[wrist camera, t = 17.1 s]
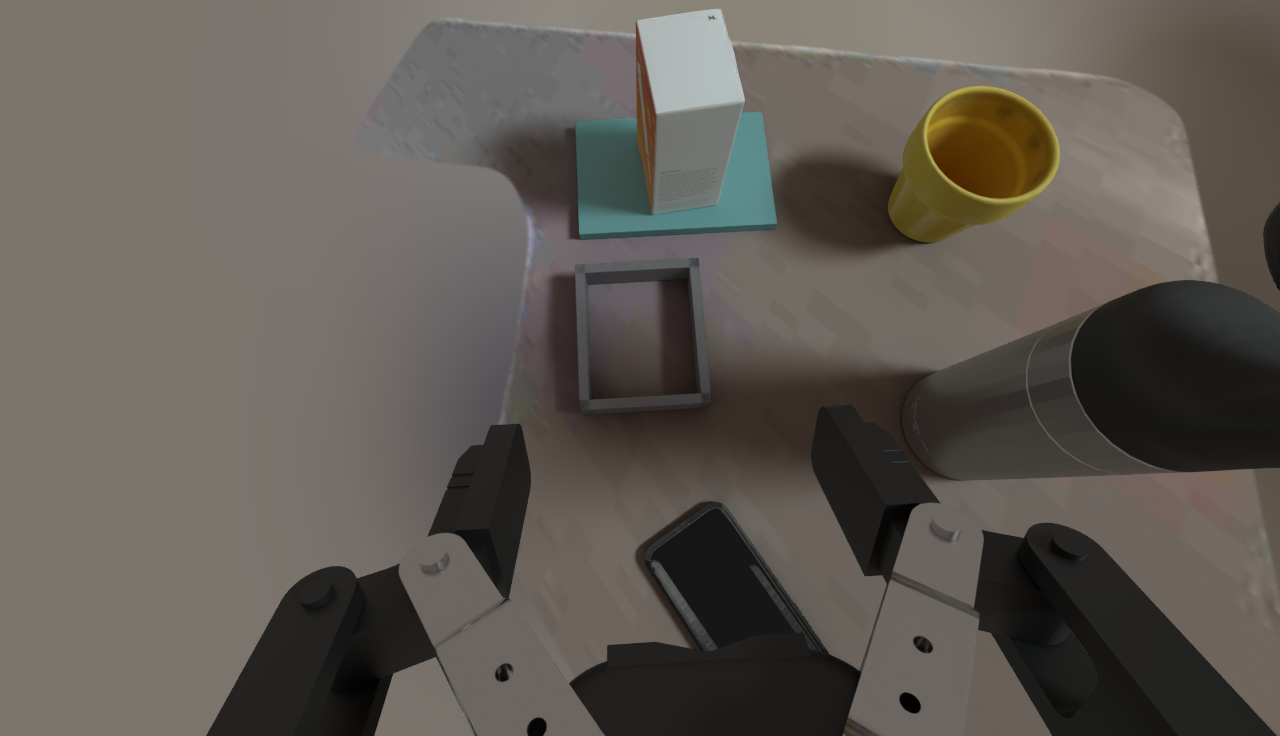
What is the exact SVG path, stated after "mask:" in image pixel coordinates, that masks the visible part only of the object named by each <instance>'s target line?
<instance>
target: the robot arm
mask: <svg viewBox="0 0 1280 736" xmlns="http://www.w3.org/2000/svg"><path fill="white" fill-rule="evenodd" d="M1263 236H1264V249H1265V256H1266V260H1267V264H1268V268H1269V270H1270V273H1271V275H1272V278H1273V280H1274V282H1275V283H1276V285H1277V288H1278V289H1279V290H1280V203H1279V204H1278V205H1277V206H1276V207H1275V208H1274V210H1273V211H1272V212H1271V214H1270V215H1269V217H1268V219H1267V221H1266V224H1265V226H1264V233H1263ZM902 425H903V430H904V434H905V437H906V440H907V442H908V444H909V446H910V448H911V450H912V451H913V452H914V454H915V455H916V456H917V457H918V459H919V460H920V461H921V462H922V463H924V464H925V465H926V466H927V467H928V468H929V469H931V470H933V471H935V472H936V473H938V474H940V475H942V476H945V477H948V478H951V479H956V480H963V481H965V480H994V479H995V480H996V479H1028V478H1054V477H1081V476H1108V475H1132V474H1153V473H1179V472H1203V471H1221V470H1237V469H1259V468H1280V313H1279V312H1277V311H1276V310H1274V309H1273V308H1271V307H1270V306H1269V305H1267V304H1265V303H1263V302H1262V301H1260V300H1258V299H1256V298H1255V297H1253V296H1251V295H1248V294H1246V293H1244V292H1241V291H1239V290H1237V289H1233V288H1230V287H1227V286H1224V285H1221V284H1217V283H1212V282H1205V281H1196V280H1182V281H1172V282H1165V283H1159V284H1155V285H1152V286H1148V287H1145V288H1142V289H1139V290H1137V291H1134V292H1132V293H1129V294H1127V295H1124V296H1122V297H1119V298H1117V299H1115V300H1112V301H1110V302H1108V303H1106V304H1103V305H1101V306H1098V307H1096V308H1093V309H1091V310H1089V311H1086V312H1084V313H1081V314H1079V315H1076V316H1074V317H1071V318H1069V319H1066V320H1064V321H1061V322H1059V323H1057V324H1055V325H1052V326H1050V327H1047V328H1045V329H1042V330H1040V331H1037V332H1035V333H1032V334H1030V335H1027V336H1025V337H1022V338H1020V339H1017V340H1015V341H1012V342H1010V343H1008V344H1005V345H1003V346H1000V347H998V348H995V349H993V350H990V351H988V352H985V353H983V354H980V355H978V356H975V357H973V358H970V359H968V360H965V361H963V362H960V363H957V364H955V365H952V366H950V367H948V368H945V369H943V370H940V371H938V372H935V373H933V374H930V375H929V376H927V377H925V378H923V379H921V380H920V381H919V382H918V383H917V384H915V385H914V386H913V387H912V389H911V390H910V392H909V393H908V395H907V397H906V400H905V402H904V405H903V411H902ZM811 458H812V466H813V470H814V473H815V475H816V477H817V479H818V481H819V483H820V485H821V487H822V490H823V492H824V494H825V496H826V498H827V500H828V502H829V504H830V506H831V508H832V510H833V512H834V514H835V516H836V518H837V520H838V522H839V524H840V526H841V528H842V530H843V533H844V535H845V537H846V539H847V541H848V543H849V545H850V547H851V549H852V551H853V553H854V555H855V557H856V559H857V561H858V563H859V565H860V567H861V569H862V571H863V573H864V576H878V575H883V577H884V579H885V581H886V583H887V586H886V589H885V592H884V595H883V598H882V601H881V605H880V608H879V611H878V614H877V617H876V621H875V624H874V627H873V630H872V633H871V637H870V640H869V643H868V646H867V649H866V652H865V656H864V659H863V662H862V665H861V668H860V671H859V670H857V669H856V668H854V667H853V666H851V665H849V664H848V663H846V662H844V661H842V660H841V659H838V658H836V657H834V656H832V655H829V654H827V653H824V652H821V651H817V650H813V649H809V647H808V644H807V641H806V638H805V635H804V632H799V633H784V634H769V635H755V636H752V637H749V638H747V639H744V640H741V641H738V642H735V643H732V644H729V645H727V646H724V647H721V648H718V649H715V650H712V651H700V650H695V649H690V648H685V647H679V646H674V645H669V644H664V643H659V642H648V643H632V644H617V645H607V661H606V662H603V663H601V664H598V665H596V666H594V667H592V668H590V669H588V670H586V671H585V672H583V673H582V674H580V675H579V676H577V677H576V678H574V679H573V680H572V681H571V682H570V683H568V682H567V680H566V679H565V677H564V676H563V674H562V673H561V671H560V670H559V668H558V667H557V666H556V664H555V662H554V661H553V660H552V658H551V657H550V655H549V654H548V652H547V651H546V649H545V648H544V646H543V645H542V643H541V642H540V641H539V639H538V638H537V636H536V635H535V633H534V632H533V630H532V629H531V627H530V626H529V625H528V623H527V621H526V620H525V619H524V617H523V616H522V614H521V613H520V611H519V610H518V608H517V607H516V606H515V604H514V603H513V602H512V600H510V599H509V593H510V588H511V584H512V579H513V574H514V569H515V564H516V559H517V553H518V548H519V543H520V538H521V533H522V528H523V523H524V518H525V513H526V508H527V503H528V498H529V493H530V486H531V473H530V465H529V460H528V456H527V451H526V446H525V441H524V436H523V431H522V427H521V425H520V424H507V425H492V426H491V427H490V428H489V431H488V434H487V437H486V440H485V443H484V445H475V446H471V447H470V448H469V449H468V450H467V451H466V452H465V453H464V454H463V455H462V456H461V457H460V458H459V459H458V461H457V464H456V466H455V469H454V471H453V474H452V478H451V479H450V482H449V484H448V486H447V488H448V490H446V492H445V494H444V497H443V499H442V502H441V504H440V507H439V509H438V512H437V515H436V517H435V519H434V522H433V525H432V527H431V529H430V532H429V535H428V537H426V538H424V539H422V540H421V541H419V542H417V543H416V544H415V545H414V546H412V547H411V548H410V549H409V550H408V551H407V552H406V554H405V555H404V557H403V558H402V560H401V562H400V564H398V565H396V566H393V567H390V568H388V569H385V570H382V571H379V572H376V573H373V574H370V575H366V576H364V577H360V578H356V576H355V574H354V573H353V572H352V571H351V570H350V569H348V568H345V567H341V566H333V567H327V568H323V569H320V570H317V571H315V572H313V573H311V574H309V575H307V576H306V577H304V578H303V579H301V580H300V581H298V582H297V583H296V584H295V585H294V586H293V587H292V588H291V589H290V590H289V591H288V592H287V593H286V594H285V596H284V597H283V599H282V600H281V602H280V604H279V606H278V608H277V609H276V611H275V613H274V615H273V617H272V619H271V620H270V622H269V624H268V626H267V627H266V629H265V631H264V633H263V635H262V637H261V638H260V640H259V642H258V644H257V645H256V647H255V649H254V651H253V653H252V655H251V656H250V658H249V660H248V662H247V663H246V665H245V667H244V669H243V671H242V672H241V674H240V676H239V678H238V680H237V681H236V683H235V685H234V687H233V689H232V691H231V692H230V694H229V696H228V698H227V699H226V701H225V703H224V705H223V707H222V708H221V710H220V712H219V714H218V716H217V718H216V720H215V721H214V723H213V725H212V727H211V728H210V730H209V732H208V734H207V736H374V735H375V731H376V728H377V725H378V721H379V718H380V715H381V711H382V708H383V705H384V702H385V698H386V695H387V692H388V689H389V685H390V682H391V679H392V676H393V673H395V672H398V671H401V670H403V669H406V668H408V667H411V666H413V665H416V664H418V663H421V662H424V661H426V660H429V659H432V658H434V657H436V659H437V660H438V663H439V665H440V666H441V669H442V671H443V673H444V675H445V677H446V679H447V681H448V683H449V685H450V687H451V690H452V691H453V694H454V696H455V698H456V700H457V702H458V704H459V706H460V708H461V710H462V712H463V714H464V717H465V719H466V720H467V723H468V725H469V727H470V729H471V731H472V733H473V736H964V730H965V722H966V715H967V707H968V700H969V693H970V685H971V678H972V670H973V663H974V655H975V648H976V640H977V633H978V630H981V631H985V632H990V633H991V634H992V635H993V637H994V639H995V640H996V642H997V644H998V645H999V647H1000V649H1001V650H1002V652H1003V654H1004V655H1005V657H1006V659H1007V660H1008V662H1009V664H1010V665H1011V667H1012V669H1013V671H1014V672H1015V674H1016V676H1017V677H1018V679H1019V681H1020V682H1021V684H1022V686H1023V687H1024V689H1025V691H1026V692H1027V694H1028V696H1029V697H1030V699H1031V701H1032V702H1033V704H1034V706H1035V707H1036V709H1037V711H1038V712H1039V714H1040V716H1041V717H1042V719H1043V721H1044V723H1045V724H1046V726H1047V728H1048V729H1049V731H1050V733H1051V734H1052V736H1277V735H1276V734H1275V733H1274V732H1273V731H1272V730H1271V729H1270V728H1269V727H1268V726H1267V725H1266V724H1265V723H1264V721H1263V720H1262V719H1261V718H1260V717H1259V716H1258V715H1257V714H1256V713H1255V712H1254V711H1253V710H1252V709H1251V707H1250V706H1249V705H1248V704H1247V703H1246V702H1245V701H1244V700H1243V699H1242V698H1241V697H1240V696H1239V695H1238V693H1237V692H1236V691H1235V690H1234V689H1233V688H1232V687H1231V686H1230V685H1229V684H1228V683H1227V682H1226V681H1225V679H1224V678H1223V677H1222V676H1221V675H1220V674H1219V673H1218V672H1217V671H1216V670H1215V669H1214V668H1213V667H1212V666H1211V664H1210V663H1209V662H1208V661H1207V660H1206V659H1205V658H1204V657H1203V656H1202V655H1201V654H1200V653H1199V652H1198V650H1197V649H1196V648H1195V647H1194V646H1193V645H1192V644H1191V643H1190V642H1189V641H1188V640H1187V639H1186V638H1185V636H1184V635H1183V634H1182V633H1181V632H1180V631H1179V630H1178V629H1177V628H1176V627H1175V626H1174V625H1173V624H1172V622H1171V621H1170V620H1169V619H1168V618H1167V617H1166V616H1165V615H1164V614H1163V613H1162V612H1161V611H1160V610H1159V608H1158V607H1157V606H1156V605H1155V604H1154V603H1153V602H1152V601H1151V600H1150V599H1149V598H1148V597H1147V596H1146V594H1145V593H1144V592H1143V591H1142V590H1141V589H1140V588H1139V587H1138V586H1137V585H1136V584H1135V583H1134V582H1133V580H1132V579H1131V578H1130V577H1129V576H1128V575H1127V574H1126V573H1125V572H1124V571H1123V570H1122V569H1121V568H1120V567H1119V565H1118V564H1117V563H1116V562H1115V561H1114V560H1113V559H1112V558H1111V557H1110V556H1109V555H1108V554H1107V553H1106V551H1105V550H1104V549H1103V548H1102V547H1101V546H1100V545H1099V544H1097V543H1096V542H1095V541H1093V540H1092V539H1091V538H1089V537H1088V536H1086V535H1084V534H1082V533H1081V532H1079V531H1076V530H1074V529H1072V528H1069V527H1066V526H1063V525H1059V524H1053V523H1039V524H1035V525H1033V526H1031V527H1030V528H1029V529H1028V531H1027V533H1026V535H1025V537H1024V538H1020V537H1015V536H1010V535H1004V534H999V533H993V532H988V531H984V530H981V529H980V527H979V526H978V524H977V523H976V522H975V521H974V520H973V519H972V518H971V517H969V516H968V515H967V514H965V513H964V512H962V511H960V510H958V509H956V508H954V507H951V506H948V505H945V504H941V503H940V502H939V501H938V499H937V498H936V497H935V495H934V494H933V493H932V491H931V490H930V488H929V487H928V486H927V484H926V483H925V482H924V480H923V479H922V478H921V476H920V475H919V474H918V472H917V471H916V470H915V468H914V467H913V466H912V464H911V463H909V462H908V459H907V457H906V456H905V455H904V453H903V452H902V451H900V448H899V447H898V445H897V444H896V443H895V441H894V440H893V439H892V437H891V436H890V435H889V434H888V433H887V432H885V431H884V430H882V429H881V428H880V427H878V426H877V425H875V424H874V423H864V422H863V420H862V419H861V418H860V416H859V415H858V413H857V412H856V410H855V409H854V408H853V407H852V406H851V405H842V406H825V407H821V408H820V410H819V412H818V417H817V423H816V429H815V434H814V440H813V446H812V453H811ZM504 598H506V599H504ZM1071 631H1072V632H1071ZM1073 634H1074V635H1075V636H1074V635H1073ZM1076 638H1077V639H1078V640H1077V639H1076ZM1079 642H1080V643H1079ZM1082 646H1083V647H1082ZM1085 650H1086V651H1085ZM1087 653H1088V654H1089V655H1088V654H1087ZM1090 657H1091V658H1090Z"/></svg>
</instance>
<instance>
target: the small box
mask: <svg viewBox="0 0 1280 736" xmlns="http://www.w3.org/2000/svg"><path fill="white" fill-rule="evenodd" d="M636 81H637V83H636V86H637V145H638V148H639V152H640V157H641V161H642V166H643V171H644V176H645V181H646V186H647V191H648V196H649V202H650V207H651V213H652V215H658V214H664V213H670V212H676V211H683V210H689V209H696V208H702V207H708V206H714V205H717V204H718V201H719V197H720V193H721V189H722V185H723V181H724V178H725V174H726V170H727V166H728V163H729V159H730V155H731V151H732V148H733V144H734V140H735V136H736V132H737V128H738V125H739V121H740V117H741V113H742V110H743V106H744V102H745V98H744V94H743V90H742V86H741V81H740V77H739V73H738V69H737V65H736V60H735V55H734V51H733V48H732V44H731V41H730V39H729V36H728V32H727V29H726V25H725V21H724V18H723V15H722V11H721V9H712V10H703V11H696V12H688V13H682V14H675V15H668V16H662V17H655V18H649V19H644V20H637V21H636Z"/></svg>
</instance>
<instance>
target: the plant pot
mask: <svg viewBox="0 0 1280 736" xmlns="http://www.w3.org/2000/svg"><path fill="white" fill-rule="evenodd" d="M1059 159H1060V148H1059V143H1058V139H1057V136H1056V134H1055V131H1054V129H1053V127H1052V125H1051V124H1050V122H1049V121H1048V120H1047V118H1046V117H1045V116H1044V115H1043V113H1042V112H1041V111H1040V110H1039V109H1038V108H1037V107H1035V106H1034V105H1033V104H1032V103H1030V102H1029V101H1027V100H1026V99H1024V98H1022V97H1021V96H1019V95H1017V94H1015V93H1012V92H1010V91H1007V90H1004V89H1000V88H996V87H990V86H972V87H965V88H961V89H958V90H955V91H952V92H950V93H948V94H946V95H944V96H943V97H941V98H940V99H939V100H937V101H936V102H935V103H934V104H933V105H932V106H931V107H930V108H929V110H928V111H927V112H926V114H925V115H924V116H923V118H922V119H921V121H920V122H919V123H918V125H917V126H916V128H915V129H914V131H913V132H912V134H911V136H910V137H909V139H908V141H907V144H906V146H905V149H904V154H903V168H902V170H901V173H900V175H899V177H898V180H897V182H896V184H895V186H894V189H893V191H892V193H891V196H890V198H889V202H888V213H889V216H890V219H891V221H892V223H893V224H894V225H895V227H896V228H897V229H898V230H899V231H900V232H901V233H903V234H904V235H905V236H907V237H909V238H911V239H913V240H916V241H920V242H937V241H941V240H943V239H946V238H948V237H950V236H953V235H955V234H957V233H959V232H961V231H963V230H965V229H968V228H970V227H972V226H974V225H979V224H988V223H992V222H996V221H999V220H1001V219H1003V218H1006V217H1007V216H1009V215H1011V214H1012V213H1014V212H1015V211H1017V210H1018V209H1020V208H1021V207H1023V206H1024V205H1025V204H1027V203H1028V202H1029V201H1031V200H1032V199H1033V198H1035V197H1036V196H1037V195H1039V194H1040V193H1041V192H1042V191H1043V190H1044V189H1045V188H1046V187H1047V186H1048V185H1049V184H1050V182H1051V181H1052V179H1053V178H1054V176H1055V174H1056V171H1057V169H1058V165H1059Z"/></svg>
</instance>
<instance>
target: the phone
mask: <svg viewBox="0 0 1280 736" xmlns="http://www.w3.org/2000/svg"><path fill="white" fill-rule="evenodd" d="M645 563H646V565H647V567H648V569H649V570H650V572H651V574H652V575H653V577H654V578H655V580H656V581H657V583H658V584H659V586H660V588H661V589H662V591H663V592H664V594H665V595H666V597H667V598H668V600H669V602H670V603H671V605H672V606H673V608H674V609H675V611H676V612H677V614H678V615H679V617H680V619H681V620H682V622H683V623H684V625H685V626H686V628H687V629H688V631H689V633H690V634H691V636H692V637H693V639H694V640H695V642H696V643H697V645H698V646H699V648H700V650H701V651H712V650H715V649H718V648H721V647H724V646H727V645H729V644H732V643H735V642H738V641H741V640H744V639H747V638H749V637H752V636H755V635H769V634H784V633H799V632H804V635H805V638H806V641H807V644H808V647H809V649H813V650H817V651H821V652H824V653H827V654H829V653H828V651H827V650H826V649H825V647H824V646H823V644H822V643H821V641H820V639H819V638H818V636H817V635H816V634H815V633H814V631H813V630H812V627H811V626H810V625H809V623H808V622H807V620H806V619H805V617H804V616H802V614H801V611H800V610H799V608H798V607H797V606H796V604H795V603H793V601H792V600H791V598H790V597H789V596H788V594H787V593H786V591H785V590H784V588H783V587H782V586H781V584H780V583H779V581H778V580H777V578H776V577H775V575H774V574H773V573H772V571H771V570H770V568H769V567H768V565H767V564H766V563H765V561H764V560H763V558H762V557H761V555H760V554H759V553H758V551H757V550H756V548H755V547H754V545H753V544H752V543H751V541H750V540H749V538H748V537H747V535H746V534H745V533H744V531H743V530H742V528H741V527H740V525H739V524H738V522H737V521H736V520H735V518H734V517H733V515H732V514H731V512H730V511H729V510H728V508H727V507H726V506H725V505H723V504H722V503H719V502H710V503H708V504H706V505H704V506H703V507H702V508H700V509H699V510H698V511H696V512H695V513H693V514H692V515H691V516H689V517H688V518H686V519H685V520H684V521H682V522H681V523H680V524H678V525H677V526H675V527H674V528H673V529H671V530H670V531H668V532H667V533H666V534H664V535H663V536H662V537H660V538H659V539H657V540H656V541H655V542H653V543H652V544H651V545H650V546H649V547H648V548H647V550H646V552H645ZM829 655H830V654H829Z"/></svg>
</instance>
